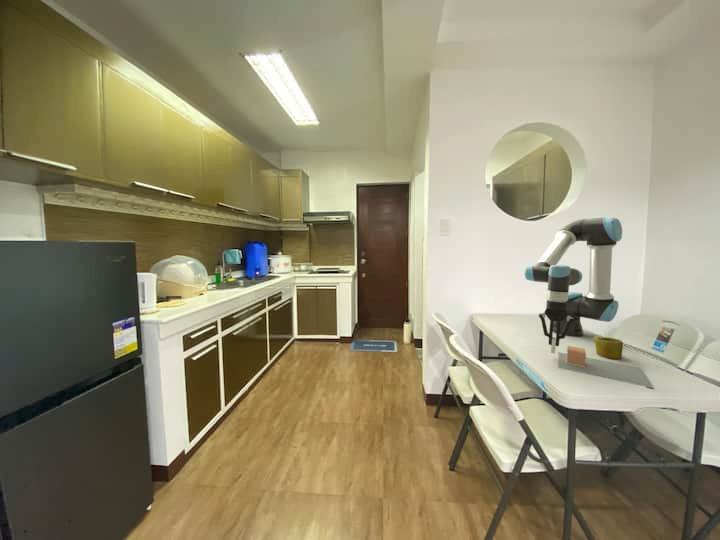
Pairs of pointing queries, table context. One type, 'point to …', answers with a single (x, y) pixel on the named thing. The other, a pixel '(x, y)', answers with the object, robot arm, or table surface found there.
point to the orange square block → (576, 356)
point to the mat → (607, 370)
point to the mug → (608, 347)
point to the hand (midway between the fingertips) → (553, 352)
